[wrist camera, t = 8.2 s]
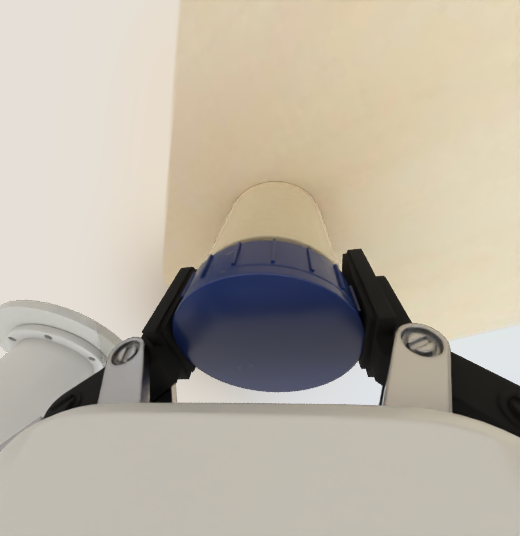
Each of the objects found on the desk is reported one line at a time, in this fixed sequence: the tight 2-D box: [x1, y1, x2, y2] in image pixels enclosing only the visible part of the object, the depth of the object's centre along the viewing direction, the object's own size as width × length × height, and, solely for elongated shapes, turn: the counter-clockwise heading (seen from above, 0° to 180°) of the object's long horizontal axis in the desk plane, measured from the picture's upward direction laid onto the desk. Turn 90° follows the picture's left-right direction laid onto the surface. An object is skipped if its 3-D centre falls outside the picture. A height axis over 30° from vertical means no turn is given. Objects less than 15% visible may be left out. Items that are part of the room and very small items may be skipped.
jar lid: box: [172, 239, 365, 392], centre depth 9 cm, size 7×7×2 cm
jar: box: [205, 181, 340, 270], centre depth 12 cm, size 7×7×9 cm
